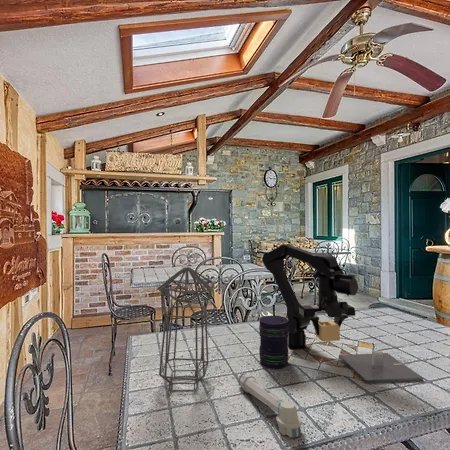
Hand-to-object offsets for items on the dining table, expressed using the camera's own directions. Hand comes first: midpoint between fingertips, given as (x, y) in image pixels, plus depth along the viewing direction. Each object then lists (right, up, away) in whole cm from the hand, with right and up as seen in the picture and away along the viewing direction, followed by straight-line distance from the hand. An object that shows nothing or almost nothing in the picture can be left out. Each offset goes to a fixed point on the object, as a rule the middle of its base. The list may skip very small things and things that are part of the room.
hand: (327, 334), depth 111 cm
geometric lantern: (-48, -9, -18) cm, 52 cm away
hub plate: (+14, -8, -9) cm, 18 cm away
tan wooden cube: (0, -1, 0) cm, 1 cm away
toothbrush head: (-26, -9, -31) cm, 41 cm away
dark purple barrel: (-20, -8, -4) cm, 22 cm away
